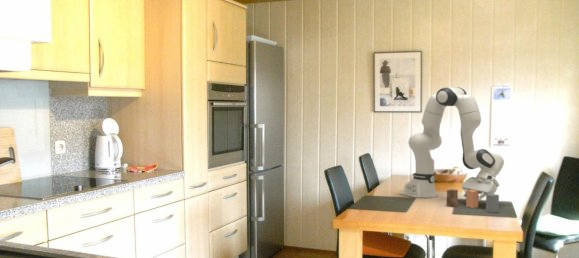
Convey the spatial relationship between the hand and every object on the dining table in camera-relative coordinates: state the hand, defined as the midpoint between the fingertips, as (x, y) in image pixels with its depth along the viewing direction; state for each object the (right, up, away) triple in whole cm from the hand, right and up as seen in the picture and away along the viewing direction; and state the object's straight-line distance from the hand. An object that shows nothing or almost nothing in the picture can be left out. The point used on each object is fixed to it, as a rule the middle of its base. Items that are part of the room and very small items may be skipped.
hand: (471, 198), depth 280 cm
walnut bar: (-10, -5, +3) cm, 11 cm away
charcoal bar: (+7, -6, -12) cm, 15 cm away
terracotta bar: (+1, -5, +1) cm, 5 cm away
